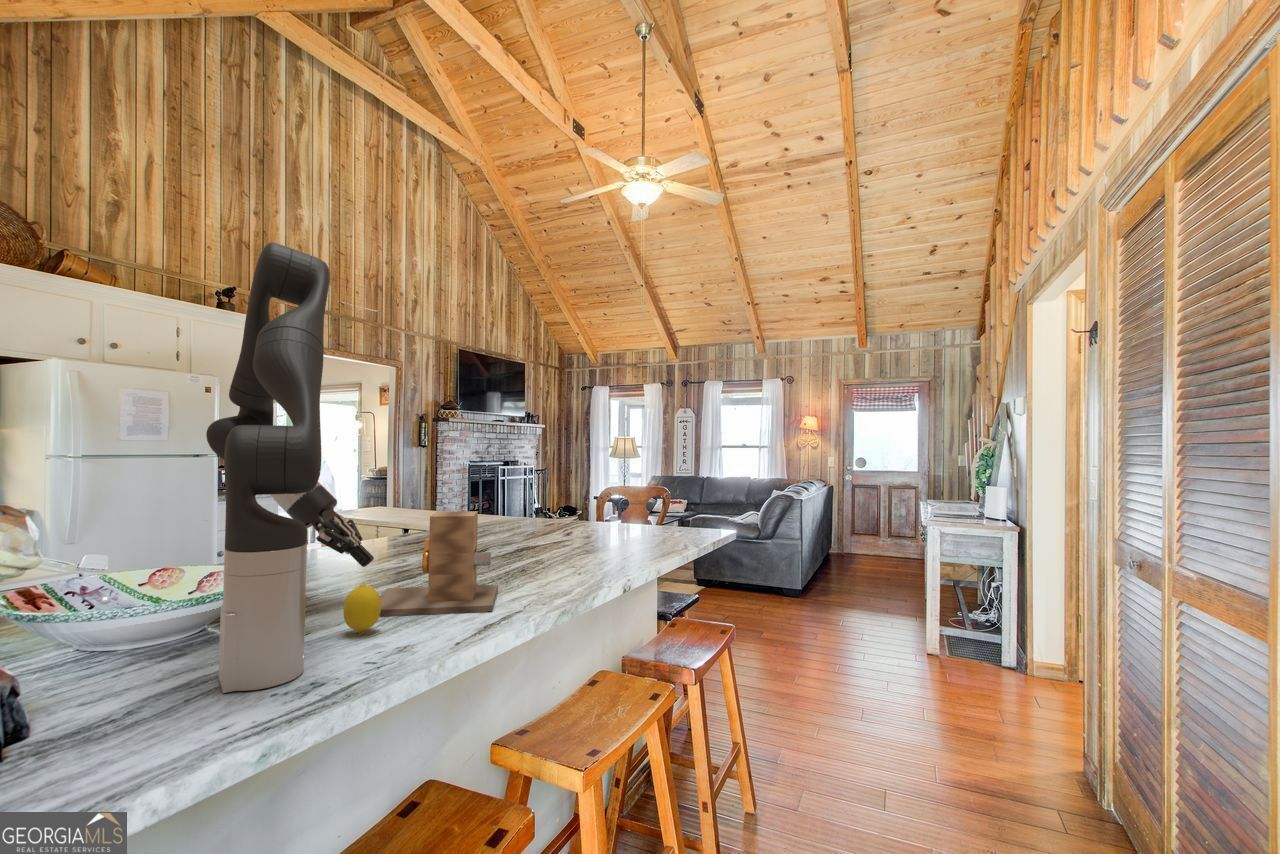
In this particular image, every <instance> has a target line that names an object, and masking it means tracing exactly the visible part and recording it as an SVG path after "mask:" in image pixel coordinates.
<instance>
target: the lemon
mask: <svg viewBox="0 0 1280 854" xmlns="http://www.w3.org/2000/svg"><path fill="white" fill-rule="evenodd" d="M379 596H380V595H379V592H378V591H377V590H376V589H375V588H373V587H371V586H369V585H367V584H366V583H362V584H360V585H359V586H357V587H355V588H354V589H352V590H351V591H350V592H349V593H348V595H347V596H346V598H345V600H344V603H343V604H344V605H343V618H344V621H345V623H346V625H347V626H348V628H350V629H351V630H355V631H357V632H358V633H359V634H364V633H365V632H366V631H367V630H368V629H370V628H372V627H374V625H375V624H376V623H377V622H378V621H379V619H380V617H381V616H380V612H381V601H380V597H379ZM379 616H380V617H379Z"/></svg>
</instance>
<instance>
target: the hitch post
mask: <svg viewBox="0 0 1280 854" xmlns="http://www.w3.org/2000/svg"><path fill="white" fill-rule="evenodd" d="M478 512H479V511H473V510H471V511H470V510H469V511H468V510H465V511H464V510H463V511H435V512H434V513H433V514H432V515H430V516H429V533H428V534H429V537H428V538H429V573H428V585H427V586H421V587H420V586H419V587H417V586H415V587H413V586H412V587H390V588H389V587H388V588H386V590H385V589H384V591H383V592H382V593H381V594H380V595H379V597H380V601H381V612H380V616H379V618H381V617H398V616H399V617H400V616H401V617H402V616H404V617H405V616H426V615H446V614H447V615H449V614H450V615H451V613H454V614H471V613H470V612H479V613H488V612H487V611H492V610H494V607H493V606H494V605H495V603H496V602H495V601H496V600H497V593H498V591H499V590H498V589H499V585H498V584H481V585H479V584H478V585H477V583H478V581H477V577H478V576H477V575H478V573H477V572H478V566H474V553H478V524H479V522H478V519H479V518H478V516H479V515H478V514H479V513H478ZM494 602H495V603H494ZM492 612H493V611H492Z"/></svg>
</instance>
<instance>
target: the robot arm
mask: <svg viewBox="0 0 1280 854" xmlns="http://www.w3.org/2000/svg"><path fill="white" fill-rule="evenodd" d="M256 262H257V263H256V266H255V269H254V273H253V277H252V282H251V287H250V291H249V298H248V304H247V310H246V315H245V322H244V329H243V335H242V336H243V337H242V342H241V343H242V344H241V349H240V352H239V353H240V354H239V358H238V361H237V363H236V367H235V371H234V372H233V373H234V374H233V377H232V380H231V384H230V387H229V391H228V398H229V400H230V402H231V403H232V404H234V405H235V406H238V407H239V411H238V414H237V415H232V416H228V417H223V418H219V419H217V420H215V421H213V422H211V424H209V426H208V427H207V430H206V435H205V436H206V441H207V443H208V445H209V447H210V449H211V451H213V453H215V455H216V456H218V457H219V458H220V459H222V460H223V462H224V464H223V465H224V468H223V469H224V485H225V487H224V488H225V525H224V527H225V530H224V532H225V535H224V555H223V556H224V559H223V591H222V593H223V596H222V604H221V606H220V619H219V651H218V653H219V654H218V682H219V685H220V689H221V691H222V692H221V693H225V694H226V693H231V692H241V691H242V692H243V691H244V692H245V691H246V692H247V691H256V690H257V691H258V690H262V689H268V688H272V687H277V686H280V685H282V684H286V683H289V682H290V681H293V680H295V679H296V678H298V677H300V676H301V675H302V674H303V672H304V670H305V669H304V668H305V635H306V634H305V631H306V597H307V596H306V593H307V589H306V588H307V558H308V557H307V556H308V554H307V553H308V551H307V550H308V528H311V527H312V526H313V528H314V530H315V531H316V532H317V533H318V536H317V537H316V538H315V539H316V541H318V542H319V543H321V544H323V545H324V546H326V547H328V548H330V549H332V550H334V551H336V552H337V553H338V554H342V555H343V554H346V555H350V556H351V557H352V559H354V560H355V561H356V562H357V563H358V564H359V565H360V566H361V567H362V568H366V567H367V566H368V565H370V564H371V563H372V562H373V561H374V559H375V558H374V556H373V555H372V554H371V553H370V551H369V550H367V548H366V547H364V545H362V544H363V543H362V541H363V540H364V539H363V537H362V535H361V533H360V531H359V529H358V528H357V526H356V525H357V524H355V522H354V520H352V519H348V520H347V519H346V518H345V517H344V515H341V514H339V513H337V512H336V511H334V510H335V509H334V508H336V507H337V504H338V500H337V499H336V498H335V497H334V496H333V495H332V493H330V492H329V490H327V489H326V488H325V487H324V486H323V485H322V484H321V482H320V481H319V480H320V476H321V471H322V470H321V469H322V437H321V436H322V434H321V433H322V432H321V431H322V429H321V408H320V407H321V406H320V405H321V404H320V403H321V390H322V380H323V369H324V354H325V353H324V352H325V351H324V350H325V349H324V347H325V346H324V333H325V332H324V330H325V329H324V327H325V326H324V325H325V324H324V323H325V314H326V312H325V311H326V307H327V301H328V300H327V299H328V294H329V288H330V287H329V286H330V280H331V279H330V278H331V276H330V274H331V273H330V268H329V265H328V264H327V263H326V261H324V260H322V259H320V258H319V257H317V256H314V255H311V254H309V253H305V252H303V251H300V250H297V249H294V248H291V247H288V246H286V245H283V244H280V243H277V242H269V243H267V244H266V245H265V246H264V247H263V248H262V250H261V252H260V254H259V256H258V259H257V261H256ZM272 298H274V299H277V300H280V301H283V302H286V303H290V304H292V305H296V306H297V307H295V308H293V309H291V310H288V311H286V312H284V313H283V314H279V315H278V316H276V317H275V318H273V319H270V301H271V299H272ZM274 401H276V403H278V405H279V406H280V407H281V408H282V409H283V410H284V411H285V413H286V414H287V415H288V418H289V419H290V422H291V423H292V425H274ZM260 495H261V496H262V495H267V496H268V495H270V496H271V497H272V499H273V501H274V502H275V503H276V504H277V505H278V506H279V507H280V508H281V509H282V510H283V511H284V513H285V512H286V514H287V515H288V516H289V517H286V516H283V515H279V514H277V513H274V512H272V511H270V510H268V509H267V508H264V507H263V506H262V505H260V504H259V502H258V501H257V498H256V496H260Z"/></svg>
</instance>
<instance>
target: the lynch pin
mask: <svg viewBox="0 0 1280 854" xmlns="http://www.w3.org/2000/svg"><path fill="white" fill-rule="evenodd" d="M422 552H423V553H422V563H421V564H422V565H421V566H422V568H421V569H422V573H423V574H429V537H426V539H424V549H423V551H422ZM474 566H477V567H487V566H488V567H490V566H492V552H491V551H487V552H484V551H483V552H477V553H474Z"/></svg>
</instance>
